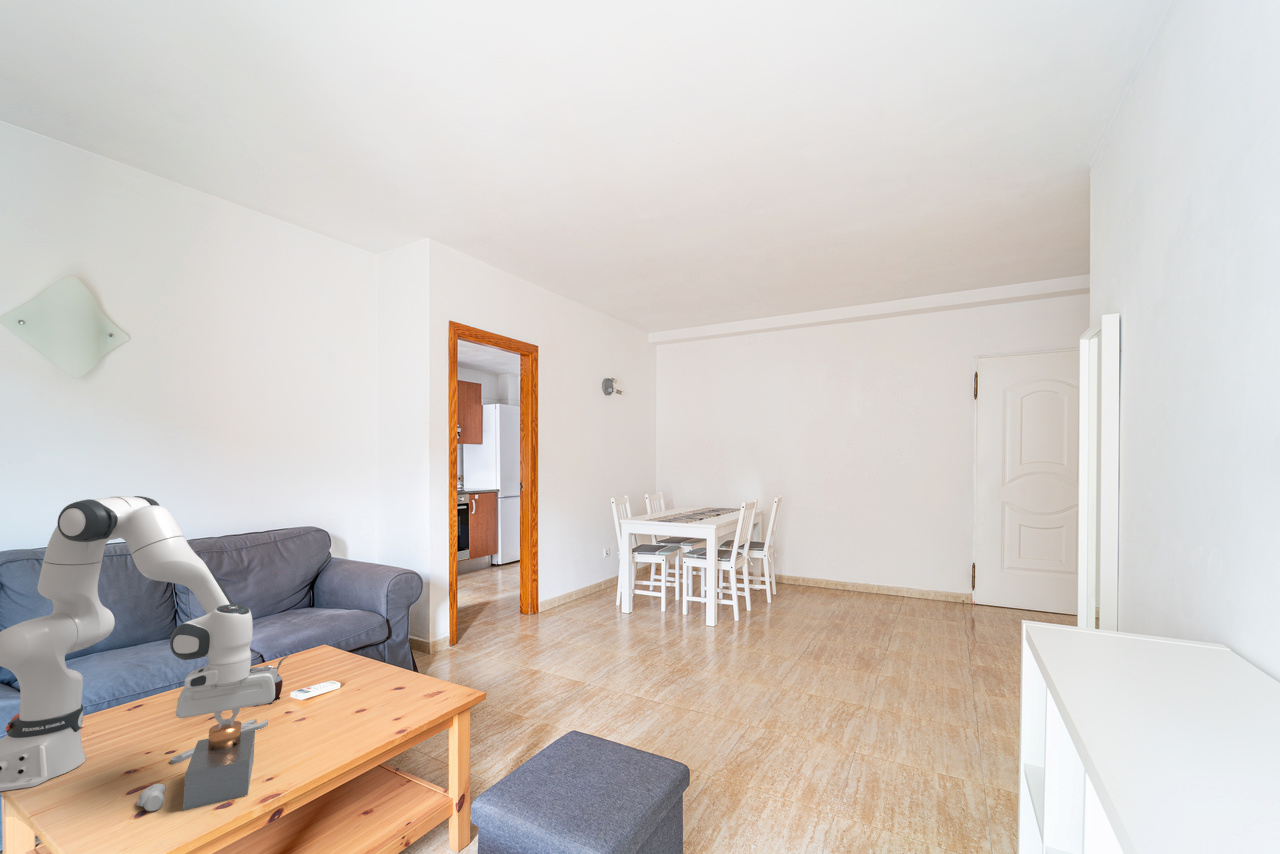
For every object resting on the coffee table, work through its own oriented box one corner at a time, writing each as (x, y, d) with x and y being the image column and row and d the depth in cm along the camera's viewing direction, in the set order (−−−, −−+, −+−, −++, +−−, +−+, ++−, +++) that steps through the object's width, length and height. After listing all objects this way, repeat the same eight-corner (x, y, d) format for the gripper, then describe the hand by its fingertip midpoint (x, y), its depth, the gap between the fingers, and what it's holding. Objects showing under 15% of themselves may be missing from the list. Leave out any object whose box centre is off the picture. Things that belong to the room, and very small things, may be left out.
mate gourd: (254, 700, 186) (257, 654, 188) (282, 694, 192) (284, 649, 193) (258, 707, 181) (261, 660, 182) (286, 701, 186) (289, 654, 187)
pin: (204, 782, 137) (207, 735, 138) (208, 769, 142) (211, 724, 143) (237, 774, 140) (240, 728, 141) (240, 762, 146) (242, 718, 147)
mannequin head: (141, 806, 131) (169, 791, 134) (137, 822, 124) (166, 807, 127) (135, 789, 130) (163, 775, 133) (131, 805, 124) (160, 790, 127)
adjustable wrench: (174, 767, 146) (174, 760, 146) (160, 761, 149) (160, 754, 149) (271, 726, 169) (271, 720, 169) (257, 722, 172) (257, 716, 172)
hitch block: (182, 810, 127) (185, 773, 128) (196, 773, 142) (198, 740, 143) (247, 795, 133) (249, 760, 134) (253, 761, 149) (255, 729, 149)
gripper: (278, 660, 151) (275, 713, 150) (181, 674, 141) (177, 731, 140) (277, 667, 146) (274, 723, 145) (176, 682, 135) (172, 742, 134)
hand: (226, 727), depth 142 cm, fingers closed, pressing on pin
